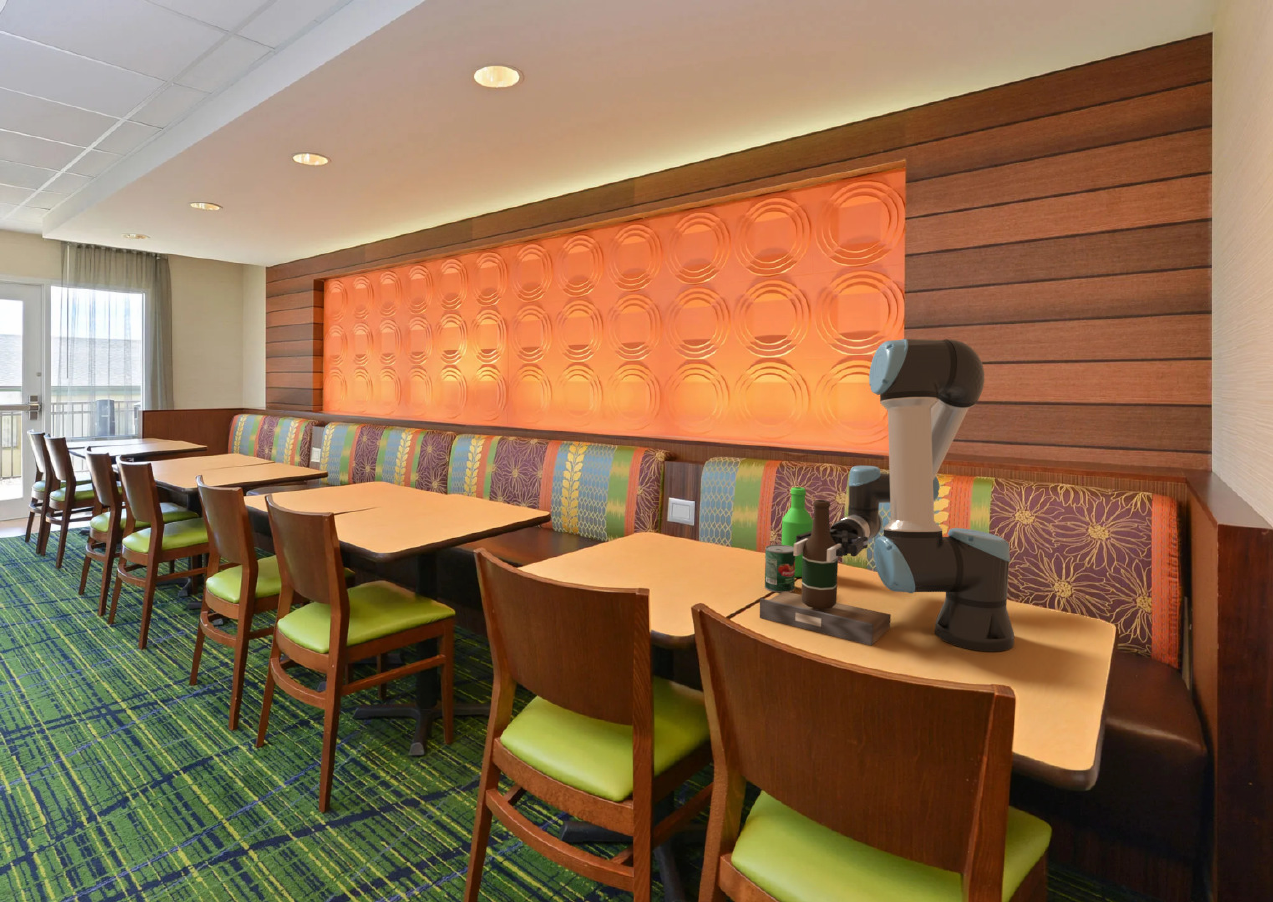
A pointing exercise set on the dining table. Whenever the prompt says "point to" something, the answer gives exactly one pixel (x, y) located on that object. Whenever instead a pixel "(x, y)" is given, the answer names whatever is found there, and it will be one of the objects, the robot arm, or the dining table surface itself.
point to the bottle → (796, 524)
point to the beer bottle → (819, 562)
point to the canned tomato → (779, 568)
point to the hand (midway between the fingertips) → (811, 552)
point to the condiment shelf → (827, 618)
